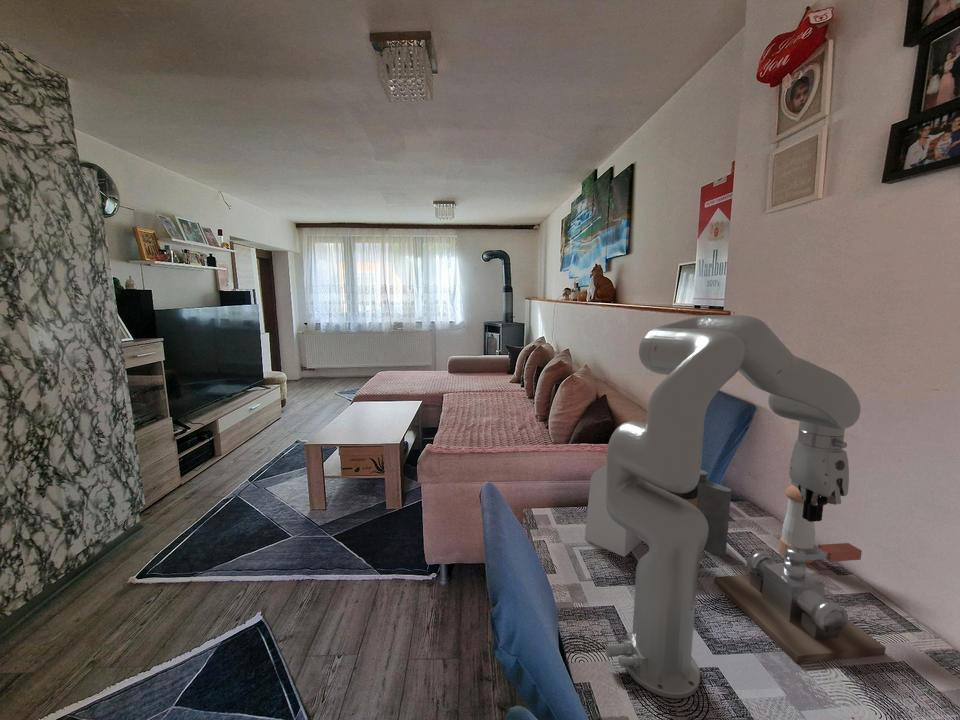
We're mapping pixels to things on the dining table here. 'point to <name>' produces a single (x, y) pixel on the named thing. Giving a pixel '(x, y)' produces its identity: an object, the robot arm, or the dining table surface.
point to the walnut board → (796, 627)
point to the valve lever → (824, 553)
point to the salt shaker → (796, 525)
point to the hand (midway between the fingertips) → (811, 519)
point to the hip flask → (714, 513)
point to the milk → (605, 520)
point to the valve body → (796, 595)
